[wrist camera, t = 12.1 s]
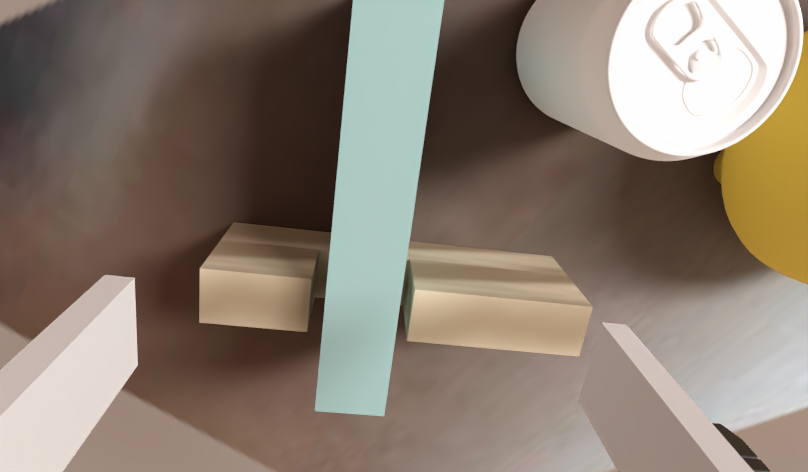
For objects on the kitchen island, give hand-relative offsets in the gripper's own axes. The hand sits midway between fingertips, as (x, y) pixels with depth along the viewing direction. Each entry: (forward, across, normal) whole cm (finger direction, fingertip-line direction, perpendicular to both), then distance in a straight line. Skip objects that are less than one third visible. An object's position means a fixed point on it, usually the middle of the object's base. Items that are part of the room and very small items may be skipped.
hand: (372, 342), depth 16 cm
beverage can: (+19, +11, +9) cm, 23 cm away
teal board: (+18, 0, 0) cm, 18 cm away
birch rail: (+18, +2, -5) cm, 19 cm away
